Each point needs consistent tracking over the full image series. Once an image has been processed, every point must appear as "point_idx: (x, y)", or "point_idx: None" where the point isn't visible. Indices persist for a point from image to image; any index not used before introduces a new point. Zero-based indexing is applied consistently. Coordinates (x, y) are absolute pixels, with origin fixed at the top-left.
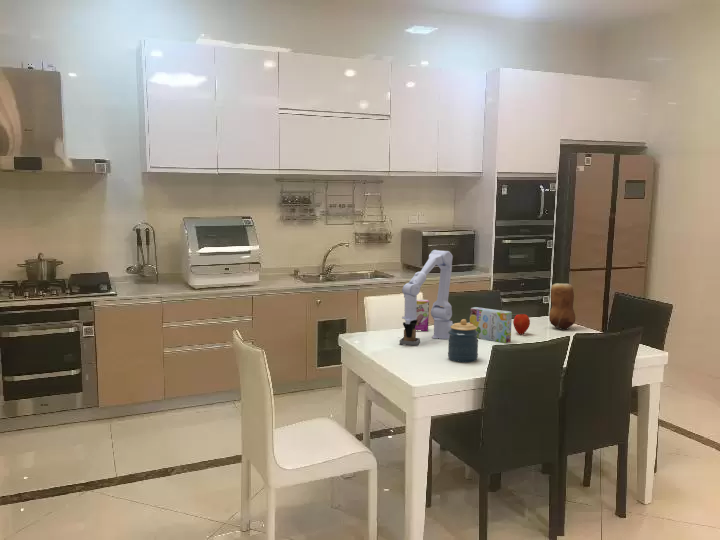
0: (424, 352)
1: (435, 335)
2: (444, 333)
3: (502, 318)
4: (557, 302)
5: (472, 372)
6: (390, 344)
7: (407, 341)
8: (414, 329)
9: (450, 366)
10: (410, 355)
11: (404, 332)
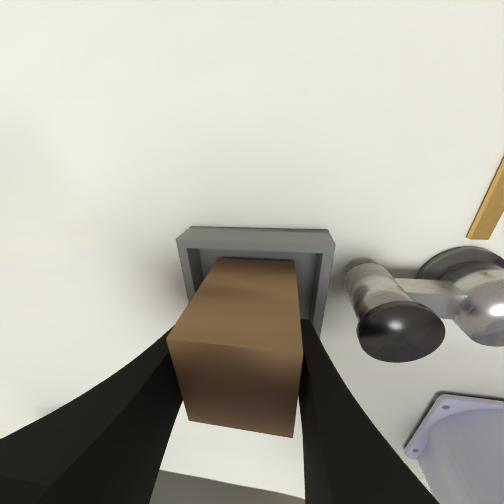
0: (103, 356)
1: (462, 425)
2: (445, 476)
3: None
4: None
5: (10, 433)
6: (167, 146)
7: (189, 294)
8: (245, 426)
9: (11, 407)
10: (15, 311)
11: (182, 321)
